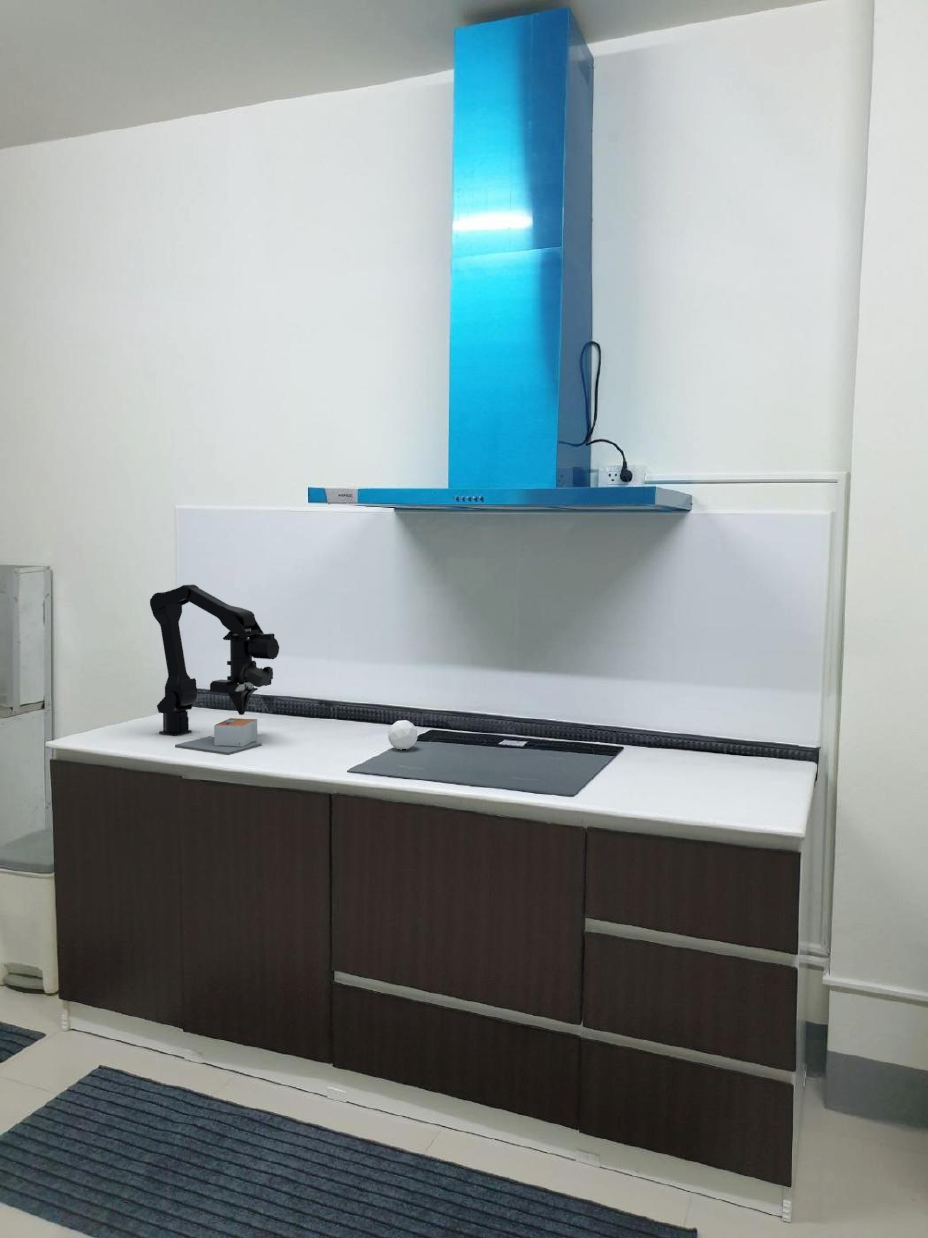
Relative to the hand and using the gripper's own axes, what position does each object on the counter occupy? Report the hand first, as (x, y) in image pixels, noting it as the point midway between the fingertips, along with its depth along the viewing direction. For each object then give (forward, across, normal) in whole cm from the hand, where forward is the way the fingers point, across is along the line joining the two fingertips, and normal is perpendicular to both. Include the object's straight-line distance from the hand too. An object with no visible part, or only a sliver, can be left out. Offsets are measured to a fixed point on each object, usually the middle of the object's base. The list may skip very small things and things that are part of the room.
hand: (241, 714), depth 259 cm
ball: (+7, +13, -43) cm, 46 cm away
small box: (+4, 0, -1) cm, 4 cm away
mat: (+7, -9, 0) cm, 11 cm away
